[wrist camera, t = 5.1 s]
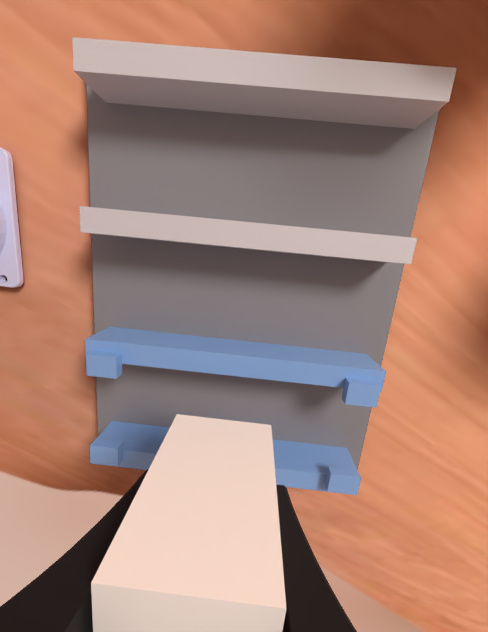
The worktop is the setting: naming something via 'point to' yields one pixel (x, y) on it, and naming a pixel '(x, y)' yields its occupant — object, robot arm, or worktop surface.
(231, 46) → the worktop surface
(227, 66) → the grey railed board
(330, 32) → the worktop surface
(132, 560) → the cream plug
